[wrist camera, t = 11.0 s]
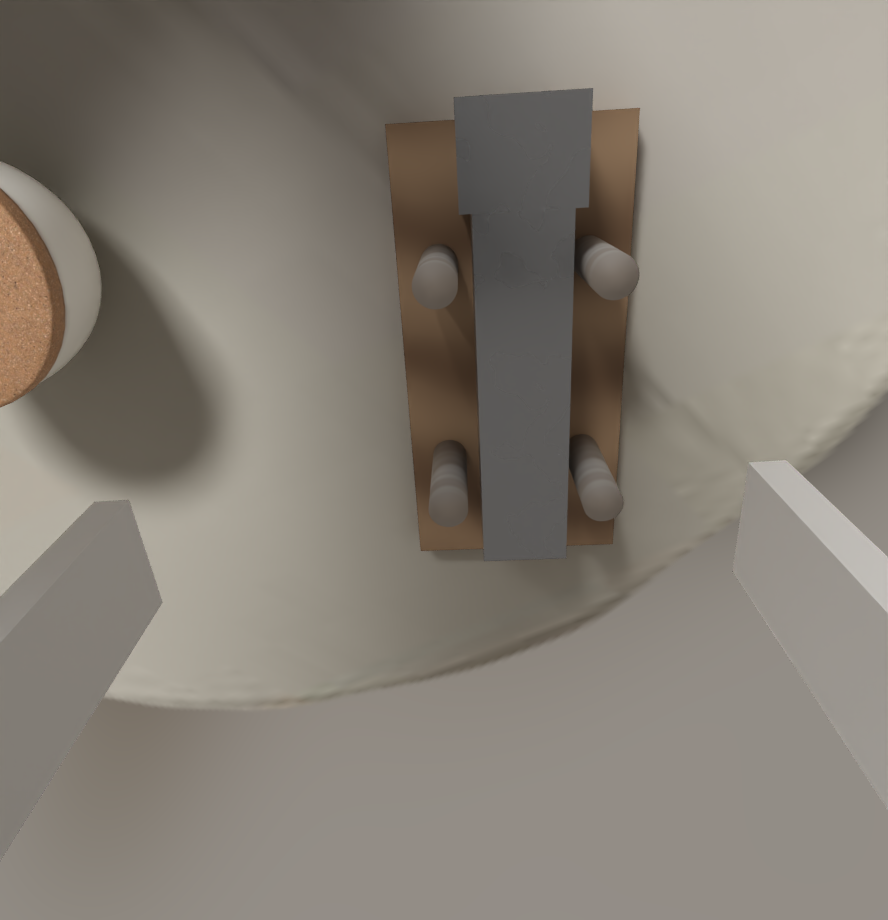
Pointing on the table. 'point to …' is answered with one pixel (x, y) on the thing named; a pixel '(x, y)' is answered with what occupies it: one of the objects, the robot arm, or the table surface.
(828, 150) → the table surface
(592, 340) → the rack
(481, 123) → the grey notched bar
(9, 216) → the lidded jar
